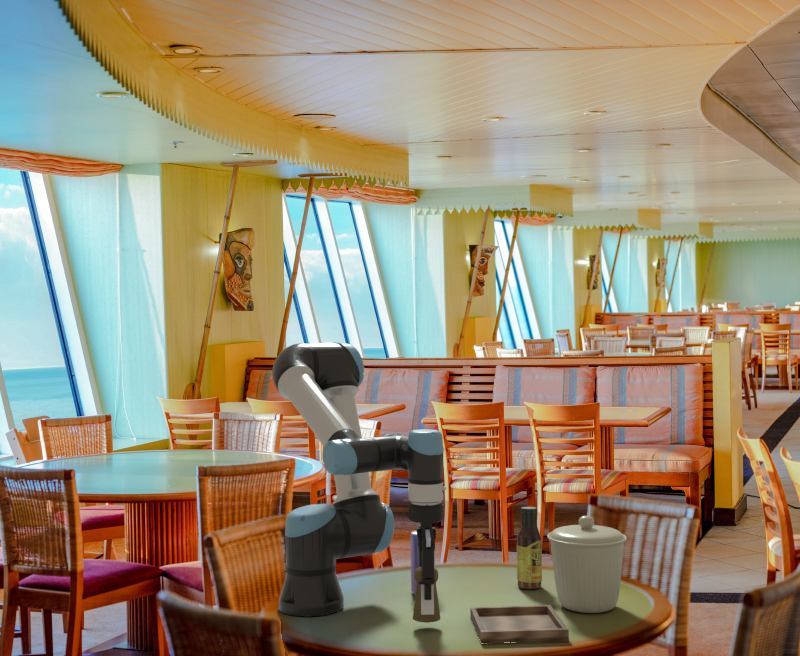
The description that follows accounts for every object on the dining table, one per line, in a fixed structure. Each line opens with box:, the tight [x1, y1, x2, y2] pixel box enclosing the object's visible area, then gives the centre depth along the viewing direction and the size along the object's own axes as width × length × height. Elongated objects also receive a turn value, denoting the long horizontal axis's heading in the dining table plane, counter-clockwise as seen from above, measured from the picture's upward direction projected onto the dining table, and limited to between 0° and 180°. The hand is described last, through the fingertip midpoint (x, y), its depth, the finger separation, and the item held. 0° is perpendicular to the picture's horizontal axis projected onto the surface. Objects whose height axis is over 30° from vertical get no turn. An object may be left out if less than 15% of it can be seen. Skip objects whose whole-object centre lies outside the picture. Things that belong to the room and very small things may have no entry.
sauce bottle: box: [516, 506, 543, 590], centre depth 231 cm, size 7×6×20 cm
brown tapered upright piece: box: [412, 566, 441, 624], centre depth 198 cm, size 6×6×11 cm
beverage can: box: [410, 529, 436, 596], centre depth 226 cm, size 6×6×15 cm
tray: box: [469, 604, 570, 644], centre depth 196 cm, size 18×18×2 cm
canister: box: [546, 515, 628, 614], centre depth 212 cm, size 18×18×21 cm
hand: (426, 609), depth 198 cm, fingers closed on brown tapered upright piece, 5 cm apart
